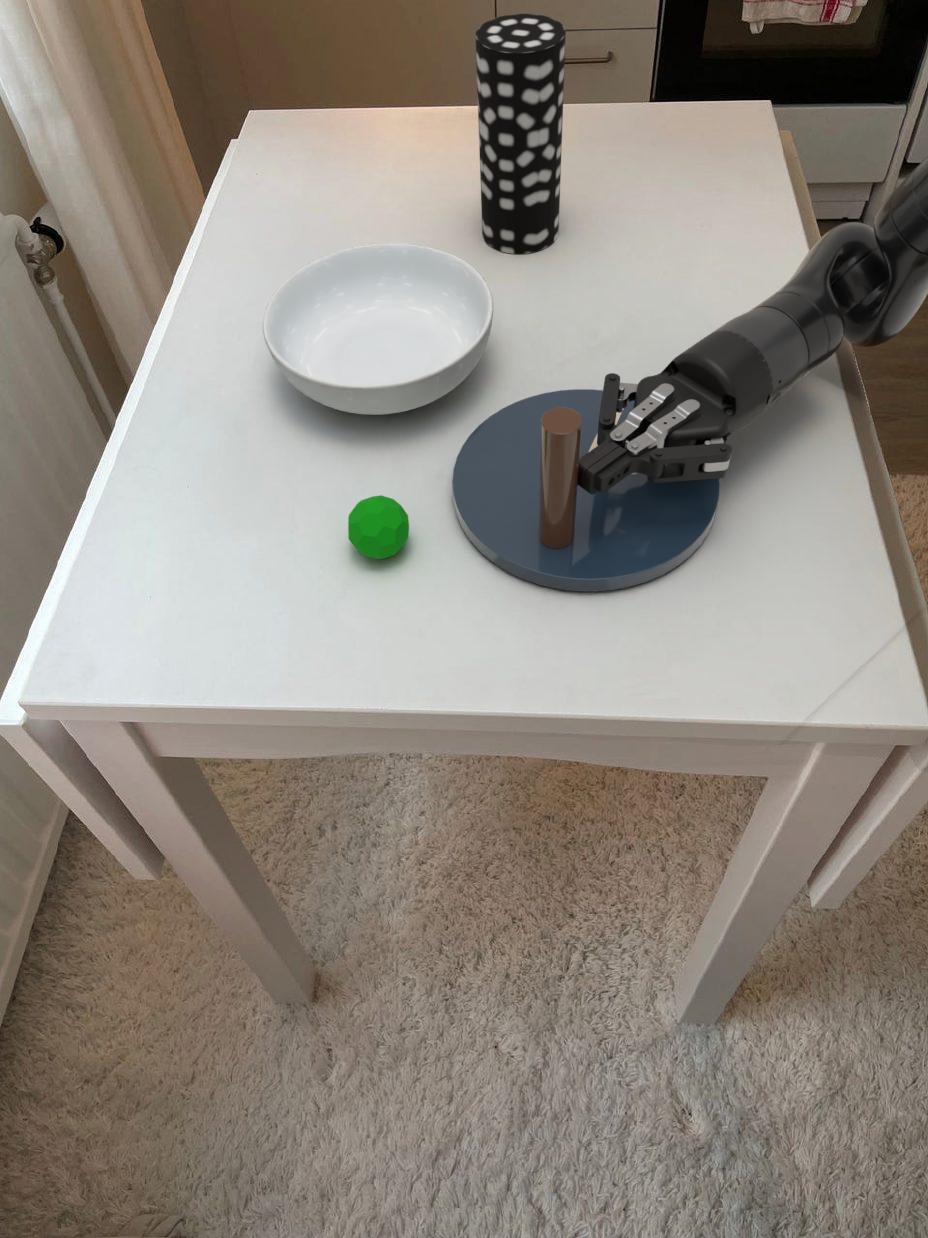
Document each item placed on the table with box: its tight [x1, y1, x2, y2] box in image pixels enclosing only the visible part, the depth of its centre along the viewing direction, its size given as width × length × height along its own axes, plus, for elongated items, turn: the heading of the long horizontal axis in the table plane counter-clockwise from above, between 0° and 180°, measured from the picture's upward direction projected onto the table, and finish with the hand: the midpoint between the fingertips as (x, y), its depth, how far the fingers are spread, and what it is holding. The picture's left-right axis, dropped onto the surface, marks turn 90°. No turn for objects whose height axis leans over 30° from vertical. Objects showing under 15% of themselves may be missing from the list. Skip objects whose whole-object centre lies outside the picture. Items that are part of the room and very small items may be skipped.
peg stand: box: [451, 388, 721, 592], centre depth 75 cm, size 22×22×14 cm
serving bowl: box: [262, 242, 494, 416], centre depth 88 cm, size 21×21×7 cm
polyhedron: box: [347, 494, 410, 560], centre depth 76 cm, size 5×5×5 cm
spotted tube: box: [475, 13, 567, 255], centre depth 96 cm, size 8×8×20 cm
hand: (584, 481), depth 70 cm, fingers closed
